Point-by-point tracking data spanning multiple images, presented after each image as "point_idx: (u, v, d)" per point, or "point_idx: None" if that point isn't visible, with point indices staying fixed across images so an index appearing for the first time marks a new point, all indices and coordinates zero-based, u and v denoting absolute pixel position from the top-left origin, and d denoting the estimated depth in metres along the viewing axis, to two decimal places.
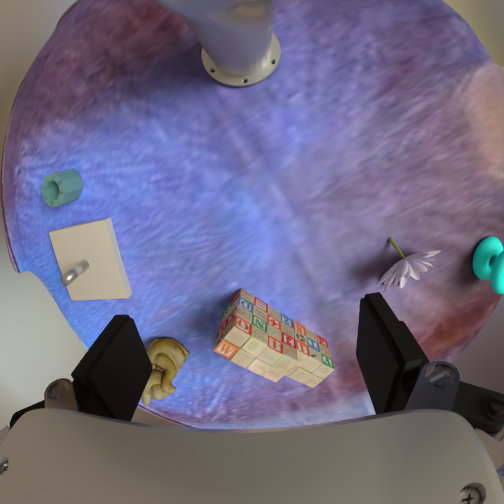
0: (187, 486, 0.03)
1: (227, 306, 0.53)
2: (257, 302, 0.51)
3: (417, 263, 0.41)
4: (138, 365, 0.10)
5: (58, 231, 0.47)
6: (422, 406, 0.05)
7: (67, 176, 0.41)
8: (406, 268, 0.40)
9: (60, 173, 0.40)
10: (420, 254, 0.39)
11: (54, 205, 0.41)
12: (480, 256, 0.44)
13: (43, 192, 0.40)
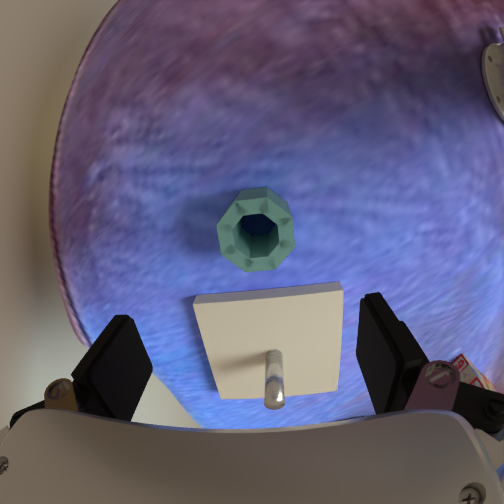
0: (187, 486, 0.03)
1: None
2: (471, 365, 0.33)
3: None
4: (138, 365, 0.10)
5: (220, 304, 0.30)
6: (422, 406, 0.05)
7: (284, 206, 0.24)
8: None
9: (272, 198, 0.23)
10: None
11: (256, 268, 0.23)
12: None
13: (223, 237, 0.23)
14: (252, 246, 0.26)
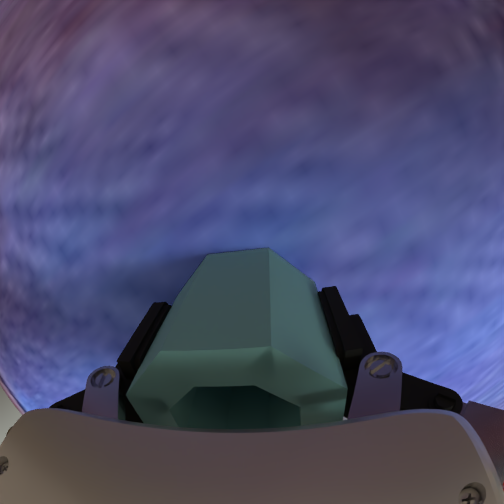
0: (187, 486, 0.03)
1: None
2: None
3: None
4: None
5: None
6: (355, 393, 0.06)
7: (318, 327, 0.08)
8: None
9: (287, 322, 0.07)
10: None
11: None
12: None
13: (150, 417, 0.07)
14: (233, 394, 0.10)
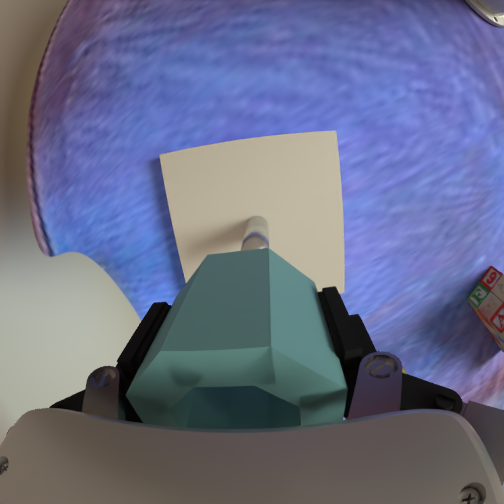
0: (187, 486, 0.03)
1: (473, 292, 0.29)
2: None
3: None
4: None
5: (191, 150, 0.24)
6: (355, 393, 0.06)
7: (318, 328, 0.08)
8: None
9: (287, 322, 0.07)
10: None
11: None
12: None
13: (150, 418, 0.07)
14: (233, 394, 0.10)
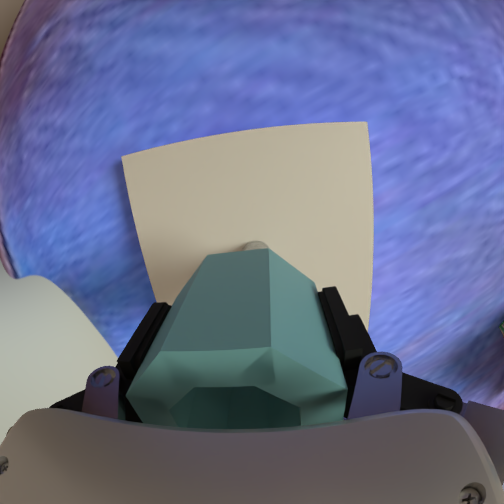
0: (187, 486, 0.03)
1: None
2: None
3: None
4: None
5: (163, 149, 0.16)
6: (355, 393, 0.06)
7: (318, 328, 0.08)
8: None
9: (287, 323, 0.07)
10: None
11: None
12: None
13: (150, 418, 0.07)
14: (233, 395, 0.10)
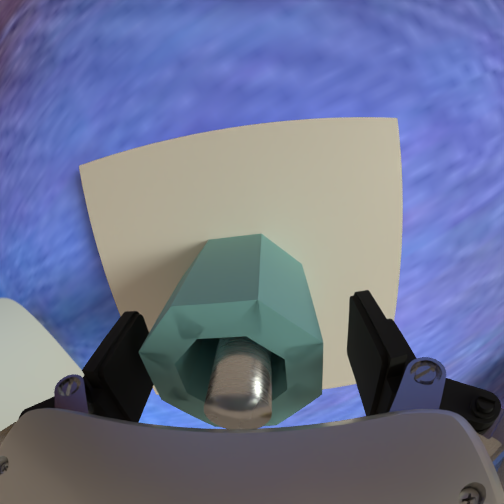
0: (187, 486, 0.03)
1: None
2: None
3: None
4: None
5: (127, 155, 0.12)
6: (406, 402, 0.05)
7: (301, 296, 0.10)
8: None
9: (273, 287, 0.09)
10: None
11: None
12: None
13: (158, 374, 0.09)
14: None
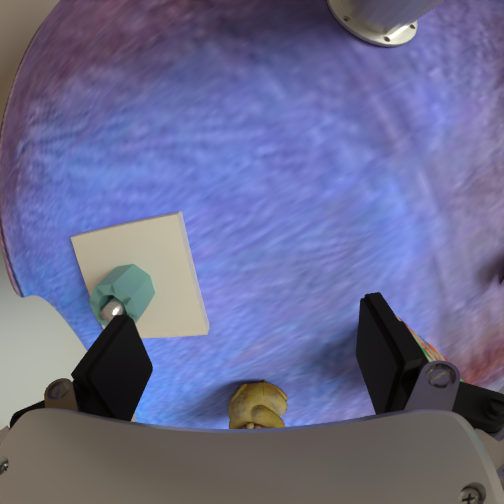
0: (187, 486, 0.03)
1: None
2: None
3: None
4: (138, 365, 0.10)
5: (87, 235, 0.32)
6: (422, 406, 0.05)
7: (134, 285, 0.30)
8: None
9: (121, 281, 0.28)
10: None
11: None
12: None
13: (94, 309, 0.28)
14: None
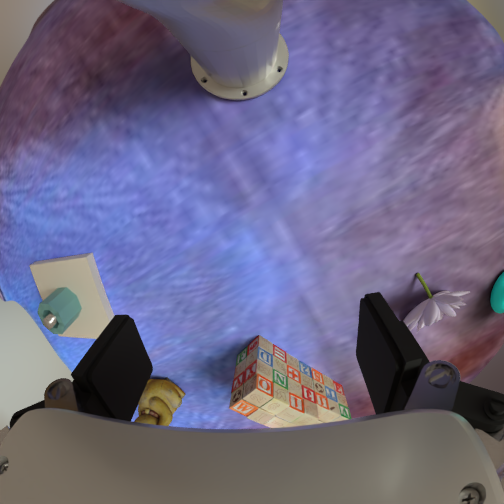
0: (187, 486, 0.03)
1: (241, 352, 0.46)
2: (276, 351, 0.44)
3: (446, 305, 0.34)
4: (138, 365, 0.10)
5: (38, 265, 0.40)
6: (422, 406, 0.05)
7: (63, 304, 0.38)
8: (436, 312, 0.33)
9: (54, 301, 0.37)
10: (452, 297, 0.32)
11: (55, 332, 0.38)
12: (499, 291, 0.38)
13: (41, 317, 0.37)
14: None
